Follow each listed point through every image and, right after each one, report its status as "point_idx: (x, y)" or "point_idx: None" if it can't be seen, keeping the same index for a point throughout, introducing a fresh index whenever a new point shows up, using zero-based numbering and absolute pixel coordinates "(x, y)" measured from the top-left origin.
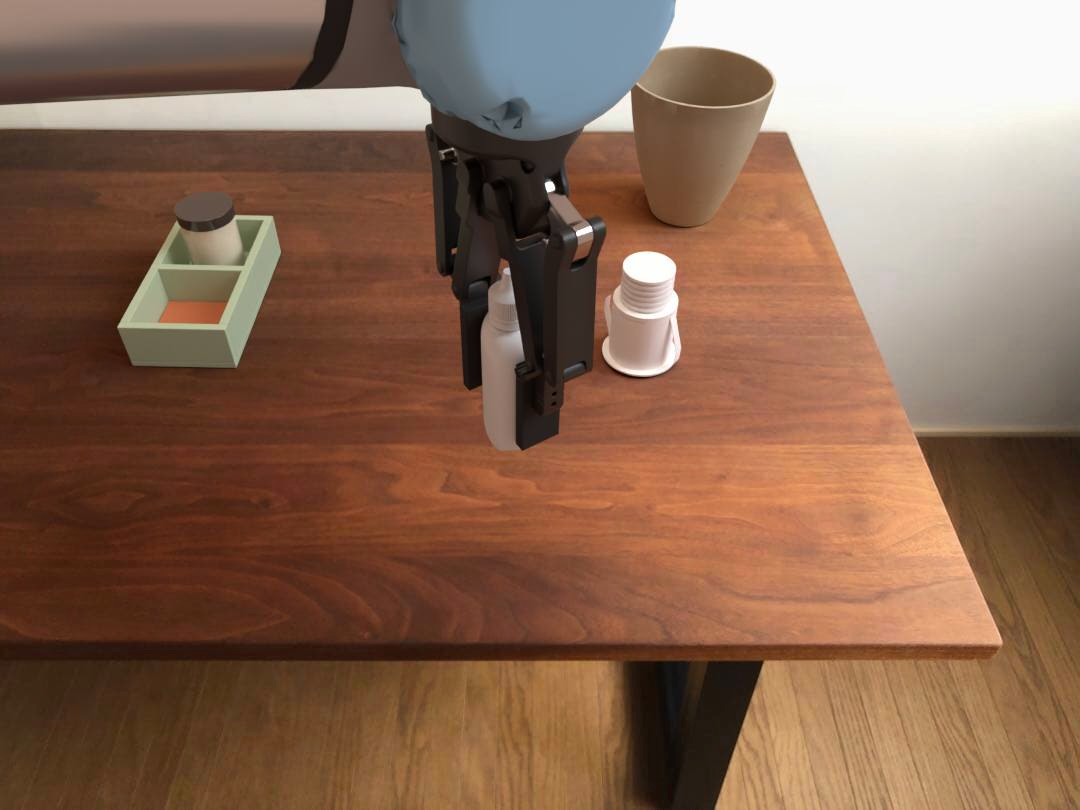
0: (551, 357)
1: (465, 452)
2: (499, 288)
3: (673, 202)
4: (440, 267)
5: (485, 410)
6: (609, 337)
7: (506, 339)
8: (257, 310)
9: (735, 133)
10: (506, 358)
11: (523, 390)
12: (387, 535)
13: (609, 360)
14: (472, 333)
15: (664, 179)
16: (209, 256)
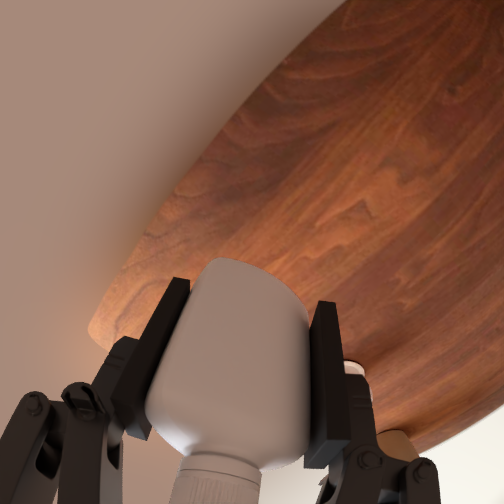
0: (14, 439)
1: (377, 241)
2: None
3: (386, 445)
4: (420, 476)
5: (248, 293)
6: (362, 374)
7: (186, 439)
8: None
9: None
10: (158, 408)
11: (127, 364)
12: (358, 135)
13: (349, 363)
14: (322, 396)
15: (393, 456)
16: None
